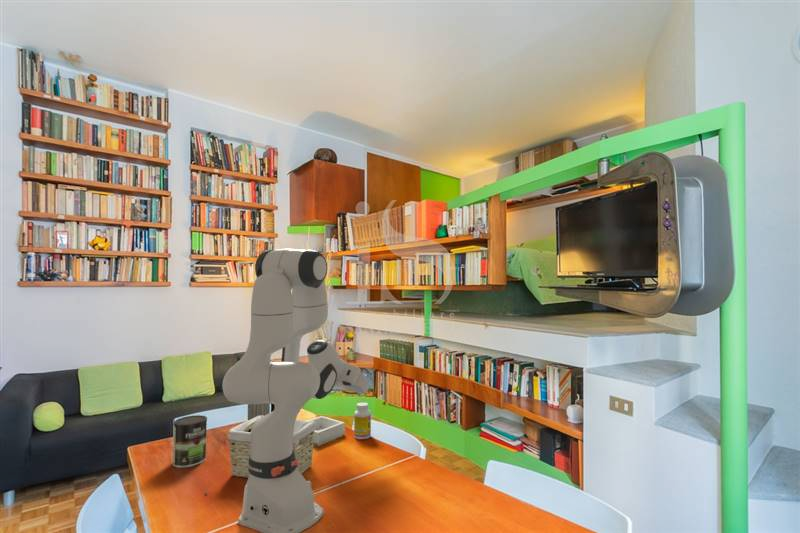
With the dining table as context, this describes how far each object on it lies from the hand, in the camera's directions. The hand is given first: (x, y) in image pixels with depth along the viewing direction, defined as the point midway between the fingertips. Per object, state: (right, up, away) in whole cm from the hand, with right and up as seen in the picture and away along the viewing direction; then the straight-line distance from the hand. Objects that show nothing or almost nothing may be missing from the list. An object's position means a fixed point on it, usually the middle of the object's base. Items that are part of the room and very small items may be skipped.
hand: (349, 392), depth 146 cm
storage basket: (-23, -20, -18) cm, 35 cm away
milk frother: (-41, -22, +16) cm, 49 cm away
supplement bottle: (+4, -21, +10) cm, 24 cm away
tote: (-13, -21, +11) cm, 27 cm away
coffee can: (-54, -20, -11) cm, 59 cm away
